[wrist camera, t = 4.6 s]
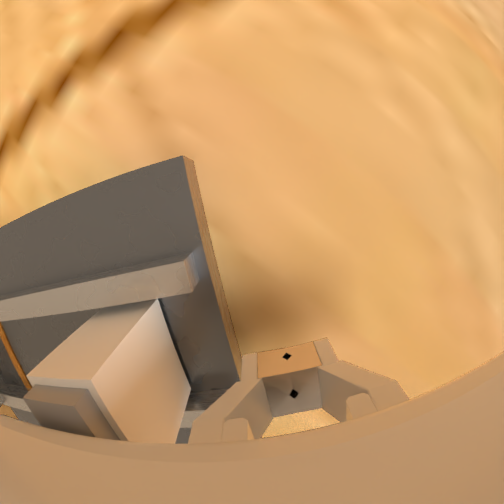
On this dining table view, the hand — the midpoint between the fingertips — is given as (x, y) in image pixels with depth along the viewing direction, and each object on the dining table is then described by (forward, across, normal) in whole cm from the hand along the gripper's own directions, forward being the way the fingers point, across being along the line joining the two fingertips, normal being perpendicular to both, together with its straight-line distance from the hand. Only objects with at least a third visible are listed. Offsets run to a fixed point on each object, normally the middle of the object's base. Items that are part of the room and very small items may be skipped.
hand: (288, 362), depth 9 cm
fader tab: (+2, -6, 0) cm, 7 cm away
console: (+5, -13, 0) cm, 14 cm away
